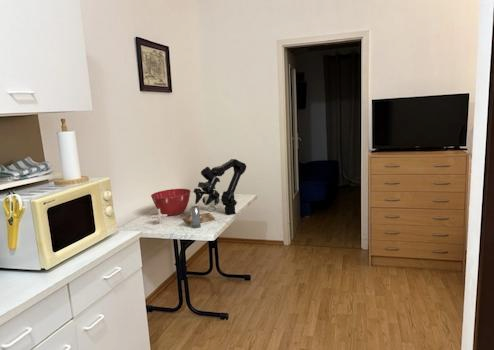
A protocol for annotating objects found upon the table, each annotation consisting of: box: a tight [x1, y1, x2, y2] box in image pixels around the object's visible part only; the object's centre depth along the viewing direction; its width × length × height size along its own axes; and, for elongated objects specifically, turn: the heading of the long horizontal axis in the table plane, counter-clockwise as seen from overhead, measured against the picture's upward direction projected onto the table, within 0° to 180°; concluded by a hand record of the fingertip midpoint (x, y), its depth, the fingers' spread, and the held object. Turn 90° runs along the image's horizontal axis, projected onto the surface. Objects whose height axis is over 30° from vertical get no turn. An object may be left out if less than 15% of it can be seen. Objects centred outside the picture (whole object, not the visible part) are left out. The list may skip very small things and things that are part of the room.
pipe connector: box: [151, 208, 168, 225], centre depth 250 cm, size 10×10×10 cm
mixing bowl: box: [150, 188, 191, 217], centre depth 274 cm, size 28×28×16 cm
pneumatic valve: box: [201, 194, 221, 212], centre depth 274 cm, size 6×12×12 cm, turn 70°
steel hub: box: [190, 205, 202, 229], centre depth 236 cm, size 5×5×13 cm
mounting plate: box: [183, 212, 216, 225], centre depth 253 cm, size 18×14×2 cm
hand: (200, 204), depth 239 cm, fingers open, 9 cm apart
